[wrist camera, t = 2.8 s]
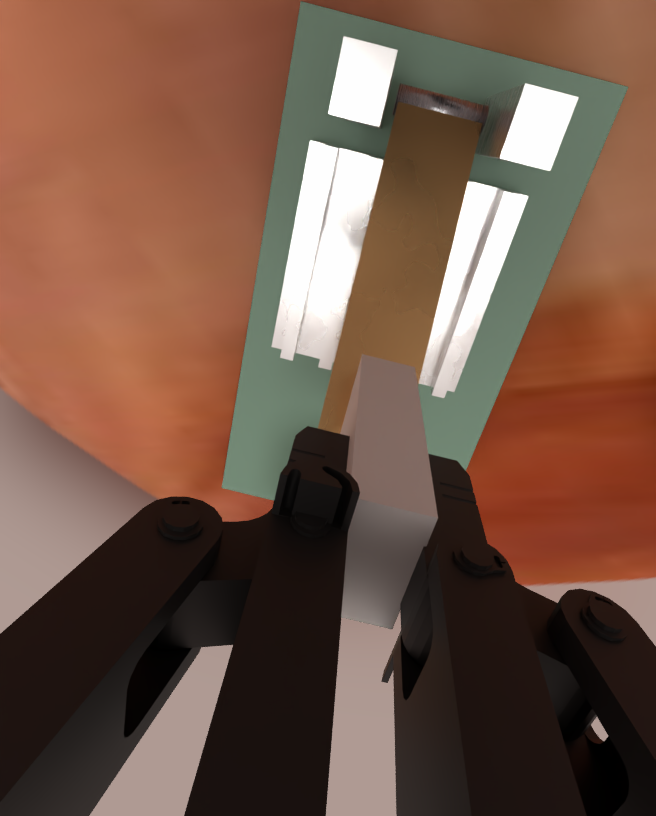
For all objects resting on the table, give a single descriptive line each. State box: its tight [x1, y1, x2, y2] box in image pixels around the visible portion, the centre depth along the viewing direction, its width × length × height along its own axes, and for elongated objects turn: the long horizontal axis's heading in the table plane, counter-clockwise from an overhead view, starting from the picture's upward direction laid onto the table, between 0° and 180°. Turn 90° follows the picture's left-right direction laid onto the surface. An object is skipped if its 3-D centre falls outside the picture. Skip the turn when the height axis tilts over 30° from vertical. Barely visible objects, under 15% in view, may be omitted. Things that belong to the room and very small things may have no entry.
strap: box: [318, 83, 489, 434], centre depth 19 cm, size 16×3×1 cm, turn 168°
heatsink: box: [271, 36, 579, 398], centre depth 21 cm, size 12×9×6 cm
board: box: [222, 1, 628, 500], centre depth 26 cm, size 24×13×1 cm, turn 167°
